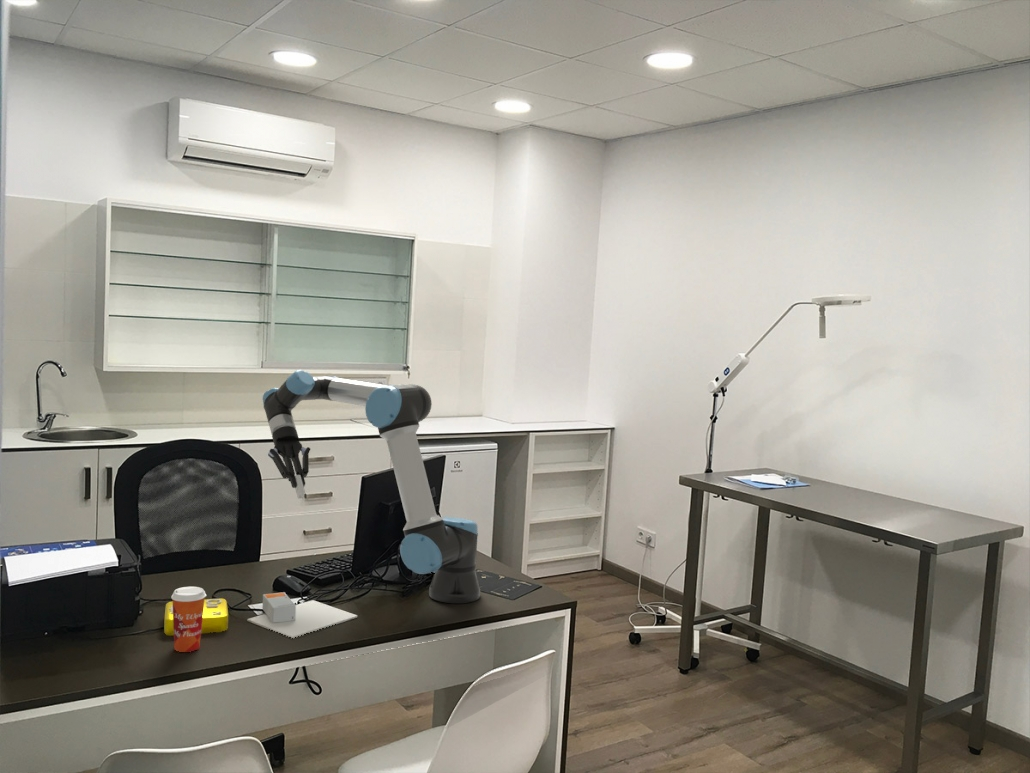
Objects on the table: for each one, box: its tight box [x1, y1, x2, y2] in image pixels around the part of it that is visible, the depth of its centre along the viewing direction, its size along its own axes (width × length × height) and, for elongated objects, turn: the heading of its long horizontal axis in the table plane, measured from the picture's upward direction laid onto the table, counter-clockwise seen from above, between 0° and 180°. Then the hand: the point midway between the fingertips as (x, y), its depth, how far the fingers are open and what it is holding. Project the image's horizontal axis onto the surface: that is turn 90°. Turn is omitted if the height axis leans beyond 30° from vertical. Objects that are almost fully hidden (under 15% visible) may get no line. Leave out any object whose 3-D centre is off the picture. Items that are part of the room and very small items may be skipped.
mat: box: [246, 599, 358, 639], centre depth 226 cm, size 18×22×1 cm
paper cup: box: [170, 586, 207, 653], centre depth 201 cm, size 8×8×14 cm
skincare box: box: [261, 591, 297, 623], centre depth 226 cm, size 6×4×12 cm
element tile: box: [163, 598, 229, 636], centre depth 218 cm, size 15×15×5 cm
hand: (301, 495), depth 251 cm, fingers closed
